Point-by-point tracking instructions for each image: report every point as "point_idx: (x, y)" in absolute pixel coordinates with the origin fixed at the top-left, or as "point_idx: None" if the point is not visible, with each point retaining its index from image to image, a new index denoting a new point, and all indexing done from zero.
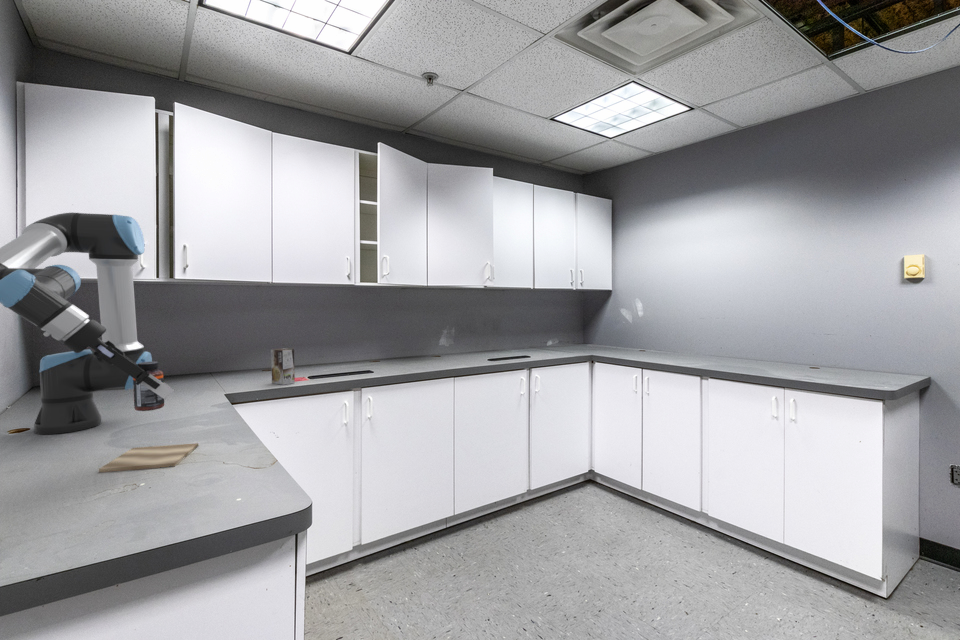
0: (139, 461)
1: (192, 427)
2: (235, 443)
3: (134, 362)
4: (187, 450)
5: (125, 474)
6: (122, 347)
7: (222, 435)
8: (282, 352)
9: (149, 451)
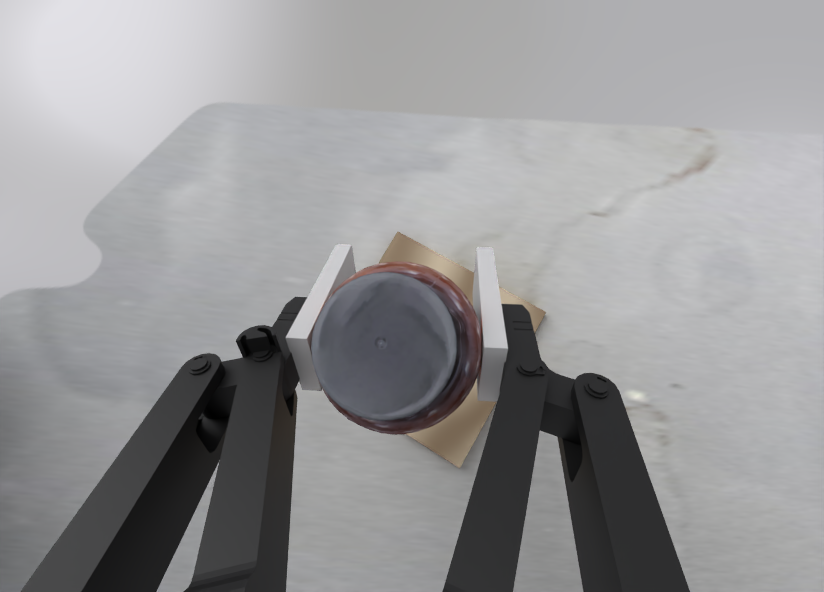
0: None
1: (184, 209)
2: (442, 155)
3: (188, 413)
4: (449, 266)
5: None
6: None
7: (335, 164)
8: None
9: None
